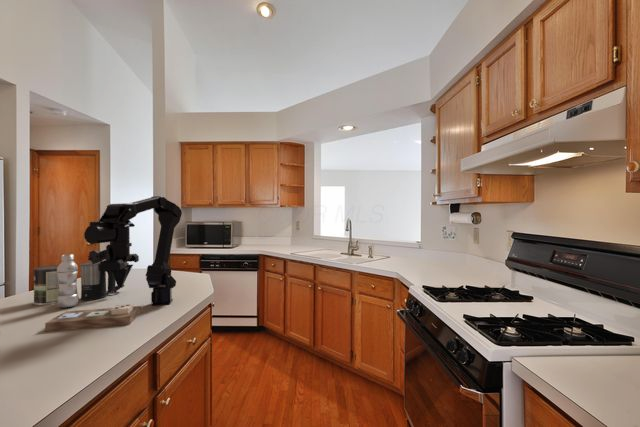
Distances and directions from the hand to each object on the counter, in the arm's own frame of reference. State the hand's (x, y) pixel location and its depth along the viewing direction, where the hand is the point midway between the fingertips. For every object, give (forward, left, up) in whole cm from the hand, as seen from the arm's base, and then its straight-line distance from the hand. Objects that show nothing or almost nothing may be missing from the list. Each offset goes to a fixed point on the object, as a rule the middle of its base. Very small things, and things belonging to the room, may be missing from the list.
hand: (120, 287), depth 106 cm
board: (+7, 0, -11) cm, 13 cm away
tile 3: (-1, 0, -9) cm, 9 cm away
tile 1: (+7, 0, -10) cm, 12 cm away
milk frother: (+19, -38, -11) cm, 44 cm away
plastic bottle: (+25, -22, -11) cm, 35 cm away
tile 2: (+14, 0, -10) cm, 18 cm away
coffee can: (+36, -33, -11) cm, 50 cm away
